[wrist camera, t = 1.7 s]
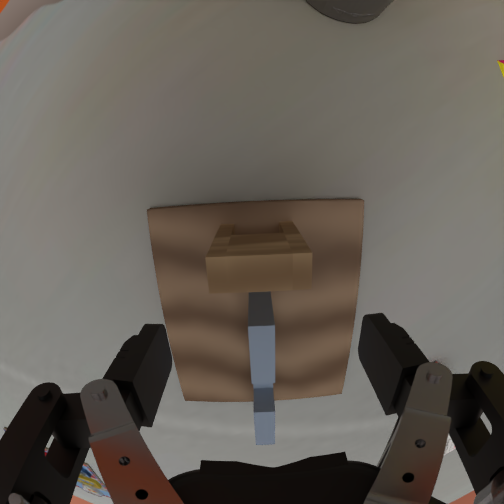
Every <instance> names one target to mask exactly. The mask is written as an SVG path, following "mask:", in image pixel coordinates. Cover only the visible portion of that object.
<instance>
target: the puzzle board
mask: <svg viewBox="0 0 504 504" xmlns="http://www.w3.org/2000/svg"><path fill="white" fill-rule="evenodd" d="M4 430H5V431H6V430H7V428H6V427H5V428H4ZM48 450H49V448H46V447H45V456H46V454H47V452H48ZM76 486H78V487H80V488H82V489H83V490H85V491H87V492H88V493H91V494H94V495H97V496H100V497H102V496H106V497H110V494H109V492H108V490H107V488H106V486H105V484H104V483H103V482H102V481H101V480H100V479H99V477H98V476H97V475H96V474H95V472H94V471H93V470H92V469H91V467H90V466H89V465H88V464H87V463H85V462H84V464H83V466H82V469H81V472H80V475H79V478H78V481H77V483H76ZM110 498H111V497H110Z"/></svg>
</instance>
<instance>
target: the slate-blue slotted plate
mask: <svg viewBox="0 0 504 504" xmlns="http://www.w3.org/2000/svg"><path fill="white" fill-rule="evenodd" d="M248 336H249V351H250V366H251V381H252V384H253V388H254V424H255V437H256V445H268V444H275V404H274V392H273V383H275V322H274V314H273V306H272V299H271V292H270V291H268V292H249V300H248Z"/></svg>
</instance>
